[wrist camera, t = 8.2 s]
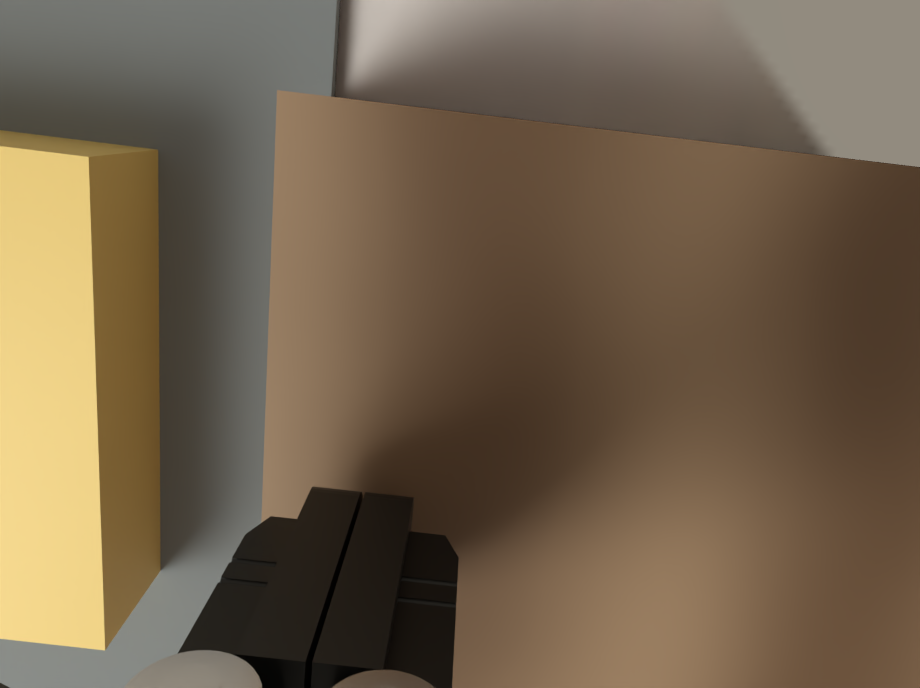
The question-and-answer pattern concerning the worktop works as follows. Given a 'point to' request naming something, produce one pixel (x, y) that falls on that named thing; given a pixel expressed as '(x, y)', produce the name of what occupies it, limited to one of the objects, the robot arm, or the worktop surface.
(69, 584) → the yellow rectangular block
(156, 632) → the mat
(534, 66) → the worktop surface
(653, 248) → the brown flat block
